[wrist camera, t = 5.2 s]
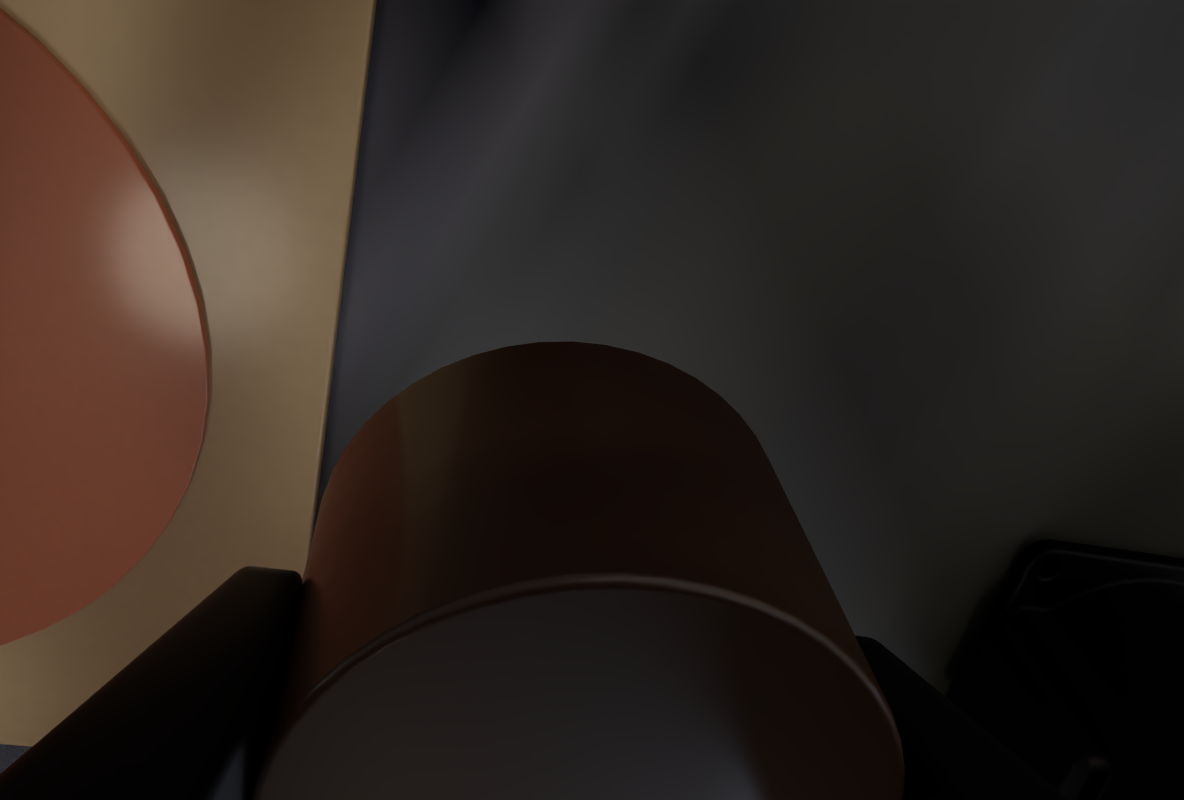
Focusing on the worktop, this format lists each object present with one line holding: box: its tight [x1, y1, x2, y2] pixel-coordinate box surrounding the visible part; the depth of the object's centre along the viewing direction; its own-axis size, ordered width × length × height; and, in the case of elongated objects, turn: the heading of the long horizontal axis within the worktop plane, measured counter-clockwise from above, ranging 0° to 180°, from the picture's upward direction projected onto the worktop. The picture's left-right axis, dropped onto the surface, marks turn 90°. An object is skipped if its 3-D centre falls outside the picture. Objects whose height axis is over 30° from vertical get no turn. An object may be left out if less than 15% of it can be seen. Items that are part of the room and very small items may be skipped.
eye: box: [249, 342, 905, 800], centre depth 7 cm, size 4×4×3 cm
